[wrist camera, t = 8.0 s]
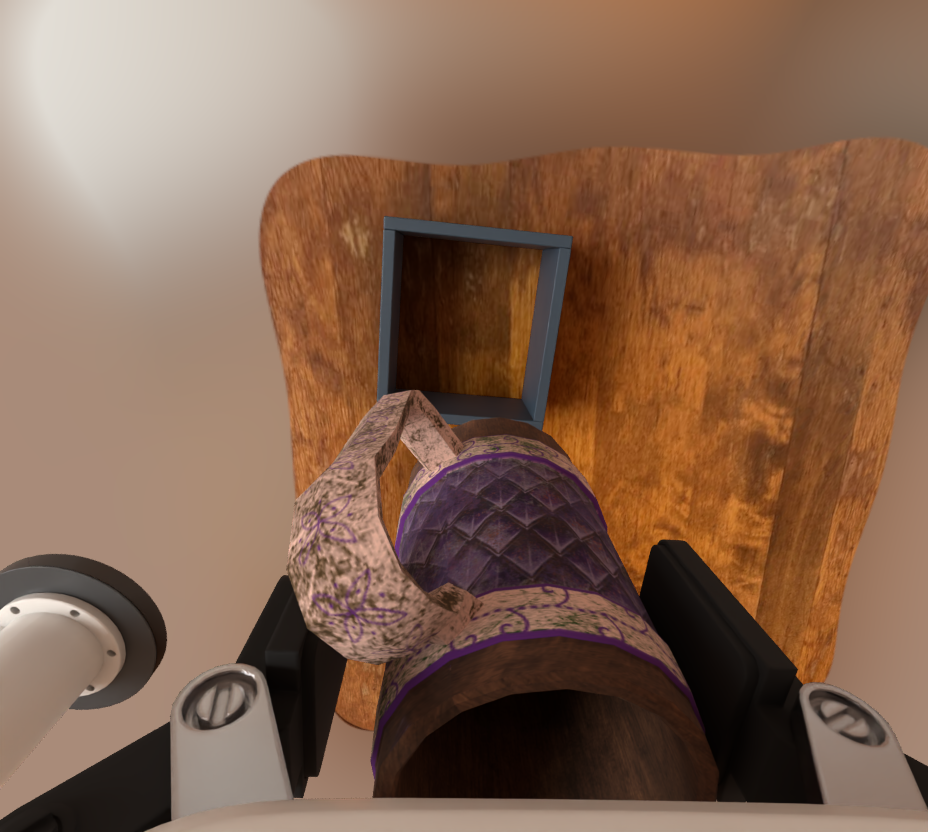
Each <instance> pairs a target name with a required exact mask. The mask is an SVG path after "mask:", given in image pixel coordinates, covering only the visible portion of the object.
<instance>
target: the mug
mask: <svg viewBox="0 0 928 832" xmlns="http://www.w3.org/2000/svg"><path fill="white" fill-rule="evenodd" d="M400 439H401V440H402V441H403V443H404V444H405V445H406V446H407V447H408V449H409V450H410V451H411V452H412V453H413V454H414V456H415V457H416V458H417V459H418V461H417V463H416V465H415V466H414V468H413V470H412V472H411V477H410V481H409V486H408V490H407V491H406V493H405V495H404V498H403V503H402V508H401V512H400V517H399V522H398V529H397V535H396V542H395V549H394V546H393V544H392V541H391V539H390V536H389V534H388V531H387V529H386V527H385V524H384V522H383V517H382V504H381V492H380V480H379V478H380V477H381V475H382V473H383V472H384V470H385V468H386V467H387V465H388V463H389V462H390V460H391V458H392V457H393V455H394V453H395V451H396V448H397V446H398V443H399V440H400ZM286 570H287V572H288V575H289V578H290V581H291V584H292V587H293V589H294V592H295V595H296V598H297V601H298V603H299V606H300V609H301V612H302V615H303V617H304V620H305V623H306V626H307V629H309V630H310V631H311V632H313V633H314V634H315V635H317V636H318V637H319V638H320V639H322V640H323V641H324V642H326V643H327V644H328V645H330V646H331V647H332V648H334V649H335V650H336V651H337V652H339V653H340V654H341V655H343V656H344V657H345V658H347V659H351V660H356V661H361V662H366V663H371V664H375V665H379V664H382V663H385V662H386V668H385V672H384V677H383V682H382V686H381V691H380V696H379V700H378V705H377V710H376V719H375V727H374V736H373V745H372V753H371V766H372V770H373V775H374V779H375V782H374V791H373V798H474V799H570V800H639V801H698V802H716V799H717V789H718V779H719V771H718V768H717V765H716V762H715V760H714V757H713V754H712V752H711V749H710V746H709V744H708V741H707V738H706V736H705V727H704V725H703V722H702V719H701V717H700V714H699V711H698V708H697V706H696V703H695V700H694V698H693V695H692V692H691V690H690V688H689V686H688V684H687V682H686V680H685V678H684V676H683V674H682V672H681V670H680V668H679V666H678V664H677V662H676V660H675V658H674V656H673V654H672V652H671V650H670V648H669V646H668V644H667V643H666V642H665V641H664V640H663V639H662V638H661V637H660V636H659V635H658V633H657V631H656V629H655V627H654V625H653V623H652V621H651V619H650V617H649V615H648V613H647V611H646V609H645V607H644V605H643V603H642V601H641V599H640V597H639V595H638V593H637V591H636V589H635V587H634V585H633V583H632V581H631V579H630V577H629V575H628V573H627V571H626V569H625V567H624V565H623V563H622V561H621V559H620V557H619V555H618V553H617V551H616V550H615V548H614V546H613V544H612V542H611V540H610V538H609V536H608V534H607V525H606V522H605V520H604V517H603V515H602V512H601V509H600V507H599V504H598V502H597V499H596V497H595V495H594V493H593V492H592V490H591V488H590V486H589V484H588V482H587V481H586V479H585V477H584V476H583V475H582V474H581V473H580V472H579V471H578V469H577V468H576V467H575V466H574V465H573V464H572V462H571V460H570V458H569V456H568V455H567V454H566V453H565V451H564V450H563V449H562V448H561V447H560V446H559V445H558V444H557V442H556V441H555V440H554V439H553V438H552V437H551V436H550V435H548V434H546V433H544V432H543V431H541V430H539V429H537V428H536V427H534V426H532V425H530V424H528V423H525V422H520V421H515V420H511V419H506V418H501V417H499V418H489V419H479V420H471V421H469V422H466V423H464V424H461V425H459V426H457V427H454V428H452V429H451V428H450V427H449V426H448V424H447V423H446V422H445V420H444V419H443V418H442V416H441V415H440V414H439V412H438V411H437V410H436V408H435V407H434V406H433V405H432V404H431V403H430V402H429V400H428V399H427V398H426V397H425V396H424V395H423V394H422V393H421V392H420V391H419V390H410V391H405V392H399V393H394V394H389V395H384V396H383V397H382V398H381V399H380V400H379V401H378V402H377V403H376V404H375V405H374V406H373V407H372V408H371V409H370V411H369V412H368V413H367V414H366V415H365V416H364V417H363V419H362V420H361V422H360V423H359V425H358V426H357V428H356V429H355V431H354V432H353V434H352V435H351V437H350V438H349V440H348V441H347V443H346V444H345V446H344V447H343V449H342V450H341V452H340V453H339V455H338V456H337V458H336V459H335V461H334V462H333V463H332V464H331V465H330V466H329V467H328V468H327V469H326V470H325V471H324V472H323V473H322V474H321V475H320V476H319V477H318V478H317V479H316V480H315V481H314V482H313V483H312V484H311V485H310V486H309V487H308V488H307V489H306V490H305V491H304V492H303V493H302V494H301V495H300V496H299V497H298V498H297V499H296V500H295V507H294V514H293V523H292V530H291V538H290V546H289V554H288V561H287V569H286Z"/></svg>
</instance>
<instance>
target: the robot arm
mask: <svg viewBox="0 0 928 832" xmlns="http://www.w3.org/2000/svg"><path fill="white" fill-rule="evenodd" d="M639 597H640V599H641V601H642V603H643V605H644V607H645V609H646V611H647V613H648V615H649V617H650V619H651V621H652V623H653V625H654V627H655V629H656V631H657V633H658V635H659V636H660V637H661V638H662V639H663V640H664V641H665V642H666V643H667V644H668V646H669V648H670V650H671V652H672V654H673V656H674V658H675V660H676V662H677V664H678V666H679V668H680V670H681V672H682V674H683V676H684V678H685V680H686V682H687V684H688V686H689V688H690V690H691V692H692V695H693V698H694V700H695V703H696V706H697V708H698V711H699V714H700V717H701V719H702V722H703V725H704V727H705V736H706V738H707V741H708V744H709V746H710V749H711V752H712V754H713V757H714V760H715V762H716V765H717V768H718V771H719V779H718V789H717V801H718V802H698V801H639V800H570V799H474V798H341V799H340V798H336V799H295V800H294V799H293V798H303V796H304V792H305V788H306V785H307V781H308V777H317V776H318V775H319V772H320V769H321V765H322V761H323V757H324V752H325V748H326V744H327V740H328V736H329V732H330V728H331V724H332V720H333V716H334V712H335V708H336V704H337V700H338V696H339V691H340V687H341V683H342V679H343V675H344V671H345V667H346V663H347V658H345V657H344V656H343V655H341V654H340V653H339V652H337V651H336V650H335V649H334V648H332V647H331V646H330V645H328V644H327V643H326V642H324V641H323V640H322V639H320V638H319V637H318V636H317V635H315V634H314V633H313V632H311V631H310V630H309V629H307V626H306V623H305V620H304V617H303V615H302V612H301V609H300V606H299V603H298V601H297V598H296V595H295V592H294V589H293V587H292V584H291V581H290V578H289V575H288V576H287V575H284V576H282V577H281V578H280V580H279V581H278V583H277V585H276V587H275V589H274V591H273V592H272V594H271V596H270V598H269V600H268V602H267V604H266V606H265V608H264V610H263V612H262V613H261V615H260V617H259V619H258V621H257V623H256V625H255V627H254V629H253V631H252V633H251V634H250V636H249V639H248V640H247V642H246V644H245V646H244V648H243V650H242V652H241V654H240V656H239V657H238V659H237V661H236V663H232V664H226V665H222V666H217V667H215V668H213V669H210V670H208V671H206V672H204V673H202V674H200V675H199V676H197V677H196V678H195V679H193V680H192V681H190V682H189V683H188V684H187V685H186V686H185V687H184V688H183V689H182V691H180V693H179V695H178V696H177V698H176V700H175V701H174V703H173V706H172V711H171V716H170V717H171V718H170V722H168V723H166V724H165V725H163V726H161V727H159V728H158V729H156V730H154V731H152V732H151V733H149V734H147V735H145V736H144V737H142V738H140V739H138V740H137V741H135V742H133V743H131V744H130V745H128V746H126V747H124V748H123V749H121V750H119V751H117V752H116V753H114V754H112V755H110V756H109V757H107V758H105V759H103V760H102V761H100V762H98V763H96V764H95V765H93V766H91V767H89V768H88V769H86V770H84V771H82V772H81V773H79V774H77V775H76V776H74V777H72V778H70V779H68V780H67V781H65V782H63V783H62V784H60V785H58V786H56V787H55V788H53V789H51V790H49V791H47V792H46V793H44V794H42V795H40V796H39V797H37V798H35V799H34V800H32V801H30V802H28V803H26V804H25V805H23V806H21V807H20V808H18V809H16V810H14V811H13V812H12V813H10V814H9V815H7V816H6V817H4V818H3V819H1V820H0V832H928V766H926V765H924V764H922V763H920V762H919V761H917V760H915V759H913V758H911V757H909V756H908V755H906V754H904V753H903V751H902V749H901V746H900V744H899V742H898V740H897V737H896V735H895V733H894V732H893V730H892V728H891V727H890V725H889V723H888V722H887V721H886V720H885V719H884V718H883V717H882V716H881V715H880V714H879V713H878V712H877V711H876V710H874V709H873V708H872V707H871V706H869V705H868V704H867V703H866V702H865V701H863V700H861V699H860V698H858V697H856V696H855V695H853V694H851V693H850V692H847V691H845V690H843V689H841V688H838V687H836V686H833V685H829V684H826V683H820V682H810V683H807V684H804V685H803V684H802V683H801V682H800V680H799V679H798V678H797V677H796V673H797V671H798V669H797V668H796V667H795V665H794V664H793V663H792V662H791V661H790V660H789V659H788V657H787V656H786V655H785V654H784V653H783V652H782V651H781V649H780V648H779V647H778V646H777V645H776V644H775V643H774V641H773V640H772V639H771V638H770V637H769V636H768V635H767V633H766V632H765V631H764V630H763V629H762V628H761V627H760V625H759V624H758V623H757V622H756V621H755V620H754V619H753V617H752V616H751V615H750V614H749V613H748V612H747V611H746V609H745V608H744V607H743V606H742V605H741V604H740V603H739V601H738V600H737V599H736V598H735V597H734V596H733V595H732V593H731V592H730V591H729V590H728V589H727V588H726V587H725V585H724V584H723V583H722V582H721V581H720V580H719V579H718V577H717V576H716V575H715V574H714V573H713V572H712V571H711V569H710V568H709V567H708V566H707V565H706V564H705V563H704V561H703V560H702V559H701V558H700V557H699V556H698V554H697V553H696V552H695V551H694V550H693V549H692V548H691V546H690V545H689V544H688V543H687V542H685V541H681V540H660V541H659V542H658V544H657V545H653V547H652V548H651V551H650V555H649V559H648V563H647V567H646V572H645V576H644V580H643V584H642V588H641V592H640V596H639ZM125 656H126V650H125V643H124V640H123V637H122V635H121V633H120V631H119V630H118V628H117V626H116V625H115V624H114V623H113V622H112V621H111V619H110V618H109V617H108V616H107V615H105V614H104V613H103V612H102V611H100V610H99V609H98V608H96V607H94V606H93V605H91V604H89V603H87V602H85V601H83V600H80V599H78V598H75V597H72V596H68V595H64V594H57V593H33V594H28V595H24V596H22V597H19V598H16V599H14V600H13V601H11V602H10V603H8V604H7V605H5V606H4V607H3V608H2V609H1V610H0V789H1V788H2V787H3V785H4V784H5V783H6V782H7V781H8V779H9V778H10V777H11V776H12V775H13V774H14V772H15V771H16V770H17V769H18V768H19V766H20V765H21V764H22V763H23V762H24V761H25V759H26V758H27V757H28V756H29V755H30V754H31V752H32V751H33V750H34V749H35V748H36V746H37V745H38V744H39V743H40V742H41V741H42V739H43V738H44V737H45V736H46V735H47V733H48V732H49V731H50V730H51V729H52V728H53V726H54V725H55V724H56V723H57V722H58V721H59V719H60V718H61V717H62V716H63V715H64V713H65V712H66V711H67V710H68V709H69V708H70V707H71V705H72V704H73V703H74V702H75V701H76V699H77V698H78V697H80V696H85V695H90V694H92V693H95V692H98V691H100V690H101V689H103V688H105V687H106V686H108V685H109V684H110V683H111V682H112V681H113V680H114V678H115V677H116V676H117V675H118V673H119V672H120V671H121V669H122V667H123V664H124V662H125ZM745 802H747V803H745Z"/></svg>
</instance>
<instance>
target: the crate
mask: <svg viewBox="0 0 928 832" xmlns="http://www.w3.org/2000/svg"><path fill="white" fill-rule="evenodd" d="M403 235H406V236H416V237H425V238H435V239H444V240H454V241H463V242H473V243H482V244H492V245H501V246H511V247H521V248H530V249H540V250H543V251H542V258H541V265H540V272H539V279H538V286H537V293H536V300H535V307H534V315H533V322H532V329H531V336H530V343H529V350H528V357H527V364H526V371H525V378H524V385H523V392H522V399H514V398H502V397H490V396H478V395H466V394H454V393H442V392H430V391H420V392H421V393H422V394H423V395H424V396H425V397H426V398H427V399H428V400H429V402H430V403H431V404H432V405H433V406H434V407H435V408H436V410H437V411H438V412H439V414H440V415H441V416H442V418H443V419H444V420H445V422H446V423H447V424H455V425H461V424H464V423H466V422H469V421H471V420H479V419H489V418H499V417H501V418H506V419H511V420H515V421H520V422H525V423H528V424H530V425H532V426H534V427H536V428H537V429H539V430H541V431H542V429H543V422H544V417H545V410H546V404H547V398H548V392H549V385H550V379H551V373H552V366H553V360H554V354H555V348H556V341H557V335H558V329H559V323H560V316H561V310H562V304H563V298H564V291H565V285H566V279H567V272H568V266H569V260H570V254H571V249H570V248H571V247H572V240H573V236H567V235H557V234H548V233H539V232H529V231H520V230H510V229H501V228H492V227H482V226H473V225H464V224H454V223H445V222H436V221H426V220H417V219H408V218H398V217H389V216H384V231H383V257H382V282H381V308H380V334H379V360H378V385H377V402H378V401H379V400H380V399H381V398H382V397H383V396H384V395H389V394H394V393H399V392H405V391H410V390H407V389H396V376H397V357H398V337H399V318H400V299H401V280H402V260H403V241H404V236H403Z"/></svg>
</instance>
